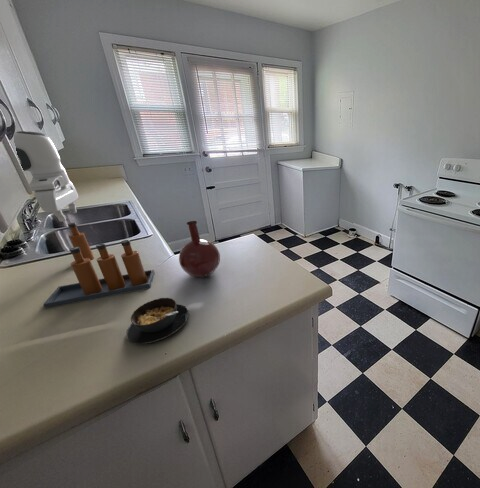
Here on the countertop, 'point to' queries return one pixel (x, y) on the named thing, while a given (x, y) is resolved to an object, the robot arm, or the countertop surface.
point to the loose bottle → (80, 241)
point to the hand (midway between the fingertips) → (68, 217)
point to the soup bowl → (156, 320)
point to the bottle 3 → (133, 264)
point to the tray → (76, 294)
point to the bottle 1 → (85, 273)
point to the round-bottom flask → (198, 254)
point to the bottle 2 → (109, 268)
